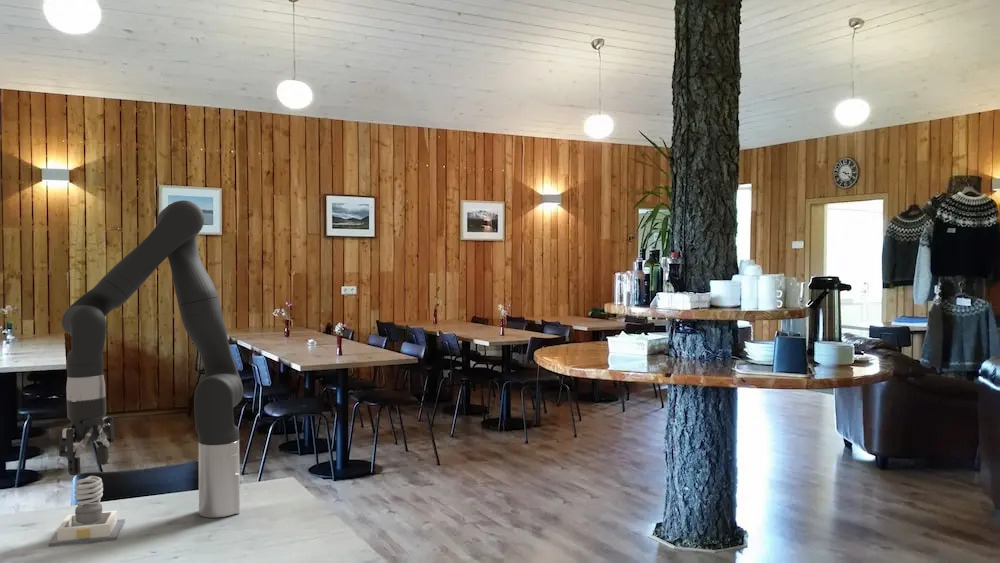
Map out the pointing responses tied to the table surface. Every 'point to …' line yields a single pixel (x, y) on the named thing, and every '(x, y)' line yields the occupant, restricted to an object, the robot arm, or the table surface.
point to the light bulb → (91, 510)
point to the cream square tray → (86, 527)
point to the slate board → (112, 536)
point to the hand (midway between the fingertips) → (88, 469)
